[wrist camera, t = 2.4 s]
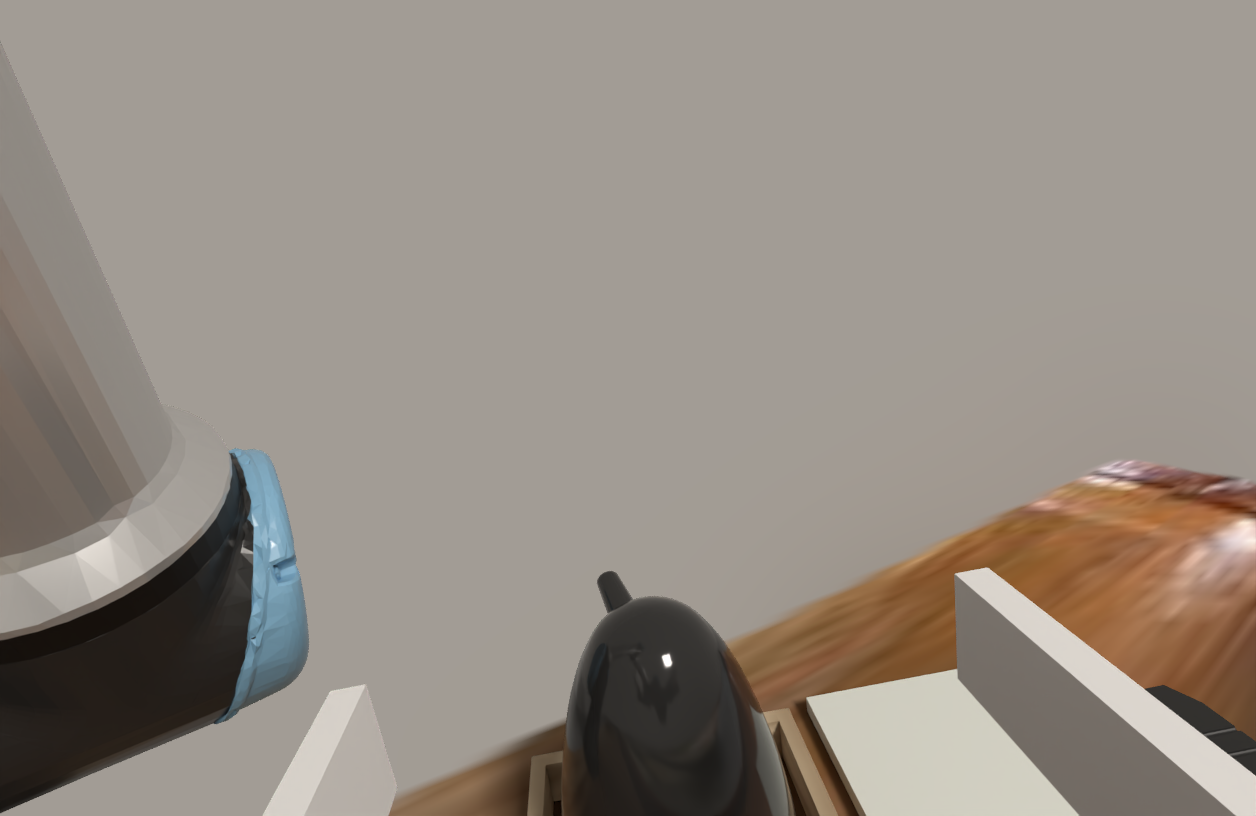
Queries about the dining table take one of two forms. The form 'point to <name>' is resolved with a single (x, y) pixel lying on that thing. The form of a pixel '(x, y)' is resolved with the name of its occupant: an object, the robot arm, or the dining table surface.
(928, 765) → the ceramic tile
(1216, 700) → the dining table surface
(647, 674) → the black tall egg-shaped piece
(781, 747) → the square picture frame
